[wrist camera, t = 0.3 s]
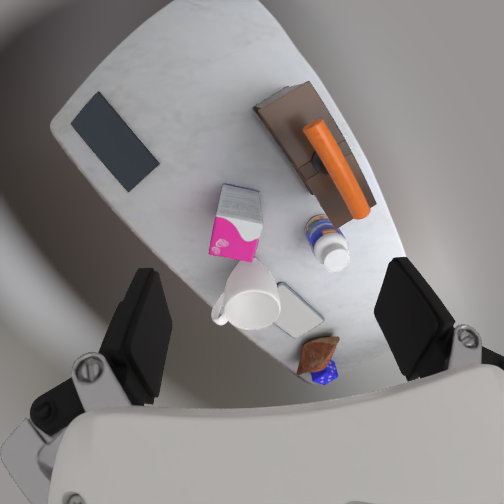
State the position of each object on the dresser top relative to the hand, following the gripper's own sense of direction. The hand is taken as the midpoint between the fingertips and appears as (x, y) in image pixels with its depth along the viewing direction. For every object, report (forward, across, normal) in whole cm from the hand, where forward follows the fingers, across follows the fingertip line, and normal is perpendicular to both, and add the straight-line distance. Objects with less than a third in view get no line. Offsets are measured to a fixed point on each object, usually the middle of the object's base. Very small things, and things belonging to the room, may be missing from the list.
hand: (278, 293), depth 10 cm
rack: (+32, -8, -1) cm, 32 cm away
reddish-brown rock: (+32, -15, +45) cm, 57 cm away
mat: (+32, +21, -3) cm, 38 cm away
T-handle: (+28, -8, -1) cm, 29 cm away
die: (+32, -18, +54) cm, 66 cm away
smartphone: (+32, -8, +32) cm, 46 cm away
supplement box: (+32, +2, +9) cm, 33 cm away
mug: (+32, +2, +22) cm, 39 cm away
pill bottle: (+32, -12, +14) cm, 37 cm away
